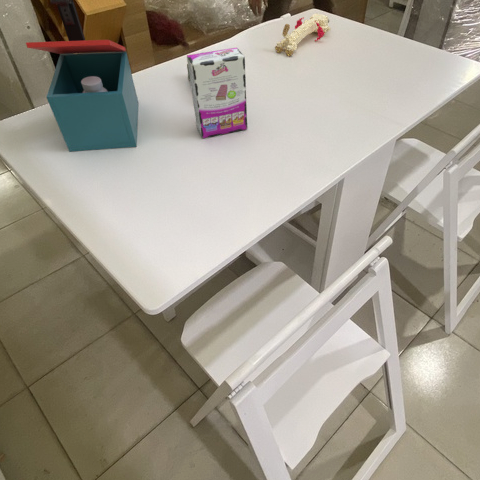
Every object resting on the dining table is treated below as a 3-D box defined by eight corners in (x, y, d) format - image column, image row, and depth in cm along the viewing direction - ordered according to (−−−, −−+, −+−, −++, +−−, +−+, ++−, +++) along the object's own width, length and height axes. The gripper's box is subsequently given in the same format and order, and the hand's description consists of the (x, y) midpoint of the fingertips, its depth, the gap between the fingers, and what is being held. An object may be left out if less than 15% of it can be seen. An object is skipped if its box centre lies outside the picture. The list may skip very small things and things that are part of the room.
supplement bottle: (92, 118, 92) (78, 75, 85) (117, 116, 93) (104, 73, 86) (91, 130, 89) (76, 87, 81) (116, 128, 90) (103, 85, 82)
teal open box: (136, 146, 88) (122, 93, 78) (69, 151, 86) (46, 97, 76) (138, 102, 99) (126, 51, 90) (79, 106, 97) (60, 54, 88)
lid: (110, 44, 72) (109, 39, 72) (27, 47, 70) (25, 42, 70) (126, 51, 90) (125, 47, 89) (59, 53, 87) (58, 49, 87)
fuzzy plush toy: (297, 63, 119) (337, 29, 131) (298, 31, 112) (340, -1, 123) (269, 54, 122) (311, 22, 134) (268, 23, 115) (313, -8, 127)
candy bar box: (240, 119, 96) (237, 46, 84) (247, 129, 94) (246, 56, 81) (195, 128, 93) (185, 53, 80) (201, 139, 90) (192, 64, 78)
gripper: (2, -141, 62) (61, 28, 80) (-19, -128, 54) (51, 56, 72) (54, -140, 63) (100, 27, 81) (41, -126, 55) (95, 54, 74)
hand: (77, 40), depth 77 cm, fingers closed
